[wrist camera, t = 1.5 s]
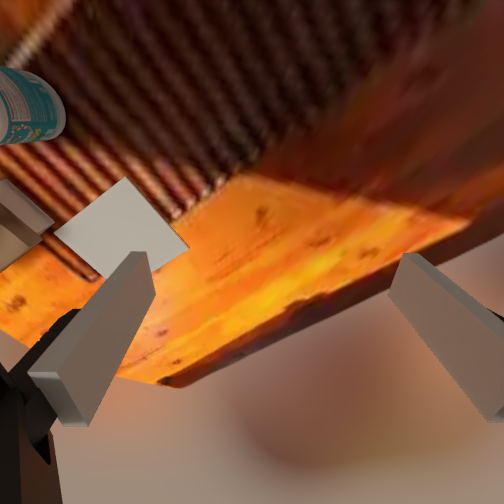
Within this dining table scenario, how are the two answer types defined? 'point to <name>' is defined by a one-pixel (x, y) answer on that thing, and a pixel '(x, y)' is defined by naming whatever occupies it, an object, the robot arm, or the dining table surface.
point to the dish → (24, 207)
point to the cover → (14, 238)
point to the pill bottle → (28, 108)
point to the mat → (121, 230)
